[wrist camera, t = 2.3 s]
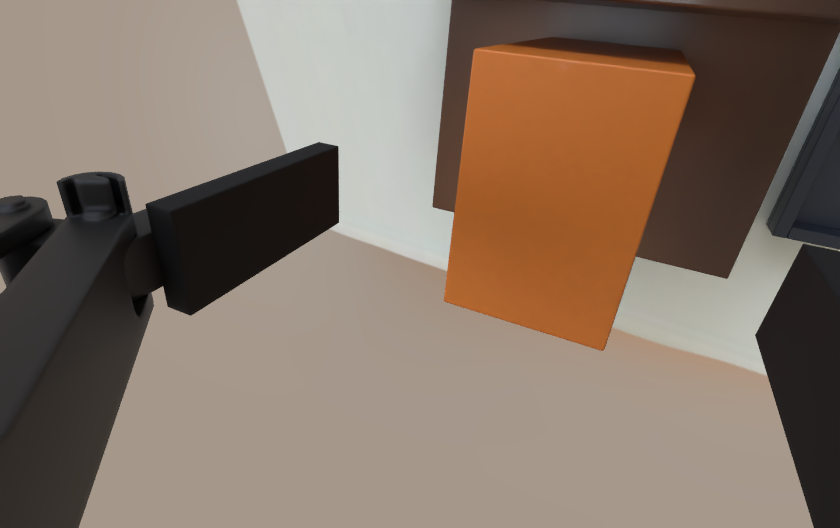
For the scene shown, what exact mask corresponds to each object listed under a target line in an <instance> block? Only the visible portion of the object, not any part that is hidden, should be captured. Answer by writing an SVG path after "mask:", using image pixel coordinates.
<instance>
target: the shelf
mask: <svg viewBox="0 0 840 528" xmlns="http://www.w3.org/2000/svg"><path fill="white" fill-rule="evenodd" d="M839 32H840V0H452V5H451V16H450V26H449V37H448V48H447V58H446V69H445V80H444V90H443V101H442V111H441V122H440V133H439V143H438V154H437V164H436V175H435V186H434V196H433V207H434V208H438V209H442V210H447V211H451V212H455V203H456V195H457V187H458V178H459V170H460V161H461V153H462V145H463V136H464V128H465V120H466V111H467V103H468V94H469V86H470V78H471V69H472V61H473V52H474V49H476V48H481V47H488V46H495V45H501V44H508V43H515V42H521V41H528V40H534V39H541V38H548V37H560V38H569V39H579V40H588V41H598V42H608V43H617V44H627V45H636V46H646V47H656V48H665V49H675V50H681V51H682V53H683V54H684V56H685V58H686V60H687V61H688V63H689V65H690V67H691V68H692V70H693V72H694V74H695V77H696V78H695V81H694V84H693V87H692V90H691V93H690V96H689V99H688V102H687V105H686V108H685V111H684V114H683V116H682V119H681V122H680V125H679V128H678V131H677V134H676V137H675V140H674V143H673V146H672V149H671V152H670V155H669V158H668V161H667V164H666V167H665V170H664V173H663V176H662V179H661V182H660V185H659V188H658V191H657V194H656V197H655V200H654V203H653V206H652V209H651V212H650V215H649V218H648V221H647V224H646V227H645V230H644V233H643V236H642V239H641V242H640V245H639V248H638V251H637V254H636V257H640V258H644V259H648V260H652V261H656V262H660V263H664V264H668V265H673V266H677V267H681V268H685V269H689V270H693V271H697V272H701V273H705V274H710V275H714V276H718V277H722V278H726V279H727V278H728V277H729V274H730V272H731V270H732V268H733V266H734V263H735V261H736V259H737V257H738V255H739V252H740V250H741V248H742V246H743V244H744V241H745V239H746V237H747V235H748V233H749V230H750V228H751V226H752V224H753V222H754V219H755V217H756V215H757V213H758V211H759V208H760V206H761V204H762V202H763V200H764V197H765V195H766V193H767V191H768V189H769V186H770V184H771V182H772V180H773V178H774V175H775V173H776V171H777V169H778V167H779V164H780V162H781V160H782V158H783V156H784V153H785V151H786V149H787V147H788V145H789V142H790V140H791V138H792V136H793V134H794V131H795V129H796V127H797V125H798V123H799V120H800V118H801V116H802V114H803V112H804V109H805V107H806V105H807V103H808V101H809V98H810V96H811V94H812V92H813V89H814V87H815V85H816V83H817V81H818V78H819V76H820V74H821V72H822V70H823V67H824V65H825V63H826V61H827V59H828V56H829V54H830V52H831V50H832V48H833V45H834V43H835V41H836V39H837V37H838V34H839Z"/></svg>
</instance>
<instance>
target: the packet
mask: <svg viewBox="0 0 840 528" xmlns="http://www.w3.org/2000/svg"><path fill="white" fill-rule="evenodd" d="M695 78H696V77H695V74H694V72H693V70H692V68H691V67H690V65H689V63H688V61H687V60H686V58H685V56H684V54H683V53H682V51H681V50H675V49H665V48H656V47H646V46H636V45H627V44H617V43H608V42H598V41H588V40H579V39H569V38H560V37H548V38H541V39H534V40H528V41H521V42H515V43H508V44H501V45H495V46H488V47H481V48H476V49H474V52H473V61H472V69H471V78H470V86H469V94H468V103H467V111H466V120H465V128H464V136H463V145H462V153H461V161H460V170H459V178H458V187H457V195H456V203H455V212H454V220H453V229H452V237H451V245H450V254H449V262H448V271H447V280H446V288H445V296H444V301H445V302H447V303H451V304H454V305H457V306H460V307H463V308H467V309H470V310H473V311H476V312H479V313H483V314H486V315H489V316H492V317H496V318H499V319H502V320H505V321H508V322H511V323H515V324H518V325H521V326H524V327H527V328H531V329H534V330H537V331H540V332H544V333H547V334H550V335H553V336H556V337H559V338H563V339H566V340H569V341H573V342H576V343H579V344H582V345H585V346H588V347H591V348H595V349H598V350H602V351H603V350H604V349H605V346H606V343H607V340H608V337H609V334H610V331H611V328H612V325H613V322H614V319H615V316H616V313H617V310H618V307H619V304H620V301H621V298H622V295H623V292H624V289H625V286H626V283H627V280H628V277H629V274H630V271H631V268H632V265H633V262H634V259H635V256H636V254H637V251H638V248H639V245H640V242H641V239H642V236H643V233H644V230H645V227H646V224H647V221H648V218H649V215H650V212H651V209H652V206H653V203H654V200H655V197H656V194H657V191H658V188H659V185H660V182H661V179H662V176H663V173H664V170H665V167H666V164H667V161H668V158H669V155H670V152H671V149H672V146H673V143H674V140H675V137H676V134H677V131H678V128H679V125H680V122H681V119H682V116H683V114H684V111H685V108H686V105H687V102H688V99H689V96H690V93H691V90H692V87H693V84H694V81H695Z"/></svg>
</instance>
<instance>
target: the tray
mask: <svg viewBox="0 0 840 528" xmlns="http://www.w3.org/2000/svg"><path fill="white" fill-rule="evenodd" d="M767 226H768V228H769V230H770V232H771V234H772V235H773V236H778V237H783V238H788V239H793V240H797V241H802V242H807V243H812V244H816V245H821V246H826V247H831V248H835V249H840V69H839V71H838V73H837V75H836V77H835V79H834V81H833V83H832V86H831V88H830V90H829V92H828V94H827V96H826V98H825V100H824V103H823V105H822V107H821V109H820V111H819V113H818V115H817V117H816V120H815V122H814V124H813V126H812V128H811V130H810V132H809V134H808V137H807V139H806V141H805V143H804V145H803V147H802V149H801V151H800V154H799V156H798V158H797V160H796V162H795V164H794V166H793V169H792V171H791V173H790V175H789V177H788V179H787V181H786V183H785V186H784V188H783V190H782V192H781V194H780V196H779V198H778V200H777V203H776V205H775V207H774V209H773V211H772V213H771V215H770V217H769V220H768V222H767Z"/></svg>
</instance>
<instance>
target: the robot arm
mask: <svg viewBox="0 0 840 528" xmlns="http://www.w3.org/2000/svg"><path fill="white" fill-rule="evenodd" d="M57 185H58V189H59V192H60V195H61V198H62V201H63V204H64V208H65V211H66V214H67V217H66V218H65V219H64V220H62V219H53V218H52V215H51V212H50V209H49V206H48V203H47V201H46V200H44V199H42V198H37V197H23V196H9V197H4V198H1V199H0V272H1V275H2V277H3V279H4V282H5V284H6V287H7V288H6V289H5V290H4V291H3V292H2V293H1V294H0V528H78V527H79V524H80V521H81V519H82V516H83V513H84V510H85V507H86V504H87V501H88V498H89V495H90V492H91V489H92V486H93V483H94V480H95V477H96V474H97V471H98V469H99V466H100V463H101V460H102V457H103V454H104V451H105V448H106V445H107V442H108V439H109V436H110V433H111V430H112V427H113V424H114V421H115V418H116V415H117V413H118V410H119V407H120V404H121V401H122V398H123V395H124V392H125V389H126V386H127V383H128V380H129V377H130V374H131V371H132V368H133V365H134V363H135V360H136V357H137V353H138V351H139V348H140V345H141V342H142V339H143V336H144V333H145V330H146V327H147V324H148V321H149V318H150V315H151V312H152V310H153V307H154V305H153V298H152V294H151V292H153V291H155V290H156V289H158V288H160V287H162V286H163V287H164V292H165V296H166V301H167V305H168V307H170V308H173V309H175V310H178V311H180V312H183V313H185V314H188V315H192V314H194V313H196V312H197V311H199V310H200V309H202V308H204V307H205V306H207V305H208V304H210V303H211V302H213V301H215V300H216V299H218V298H220V297H221V296H223V295H224V294H226V293H228V292H229V291H231V290H232V289H234V288H235V287H237V286H239V285H240V284H242V283H243V282H245V281H246V280H248V279H250V278H251V277H253V276H255V275H256V274H258V273H259V272H261V271H263V270H264V269H266V268H267V267H269V266H271V265H272V264H274V263H275V262H277V261H279V260H280V259H282V258H283V257H285V256H286V255H288V254H289V253H291V252H293V251H294V250H296V249H297V248H299V247H300V246H302V245H304V244H306V243H307V242H309V241H310V240H312V239H314V238H315V237H317V236H318V235H320V234H321V233H323V232H325V231H326V230H328V229H329V228H331V227H333V226H334V225H336V224H337V223H339V168H338V146H334V145H329V144H325V143H320V142H318V143H316V144H313V145H310V146H307V147H304V148H301V149H299V150H296V151H293V152H290V153H287V154H285V155H282V156H279V157H276V158H273V159H271V160H268V161H265V162H262V163H260V164H257V165H254V166H251V167H248V168H246V169H243V170H240V171H237V172H234V173H231V174H229V175H226V176H223V177H220V178H218V179H214V180H212V181H209V182H206V183H203V184H200V185H198V186H195V187H192V188H189V189H187V190H184V191H181V192H178V193H175V194H172V195H169V196H167V197H164V198H161V199H158V200H156V201H153V202H150V203H147V204H146V209H144V210H142V211H139V212H136V213H133V212H132V208H131V204H130V200H129V195H128V191H127V187H126V182H125V178H124V177H123V176H122V175H120V174H116V173H112V172H90V173H89V172H88V173H81V174H76V175H72V176H69V177H65V178H62V179H61V180H59V181H57ZM755 336H756V339H757V342H758V346H759V349H760V352H761V356H762V359H763V362H764V365H765V369H766V372H767V375H768V378H769V382H770V385H771V388H772V391H773V394H774V398H775V401H776V405H777V408H778V411H779V415H780V418H781V421H782V424H783V427H784V431H785V434H786V437H787V441H788V444H789V447H790V450H791V454H792V457H793V460H794V463H795V467H796V470H797V474H798V477H799V480H800V483H801V487H802V490H803V493H804V496H805V500H806V503H807V506H808V509H809V513H810V516H811V519H812V523H813V526H814V528H840V252H839V251H835V250H830V249H825V248H820V247H815V246H811V245H806V244H803V245H802V247H801V249H800V251H799V253H798V255H797V256H796V258H795V260H794V262H793V264H792V266H791V268H790V270H789V272H788V274H787V276H786V278H785V279H784V281H783V283H782V285H781V287H780V289H779V291H778V293H777V295H776V297H775V299H774V301H773V302H772V304H771V306H770V308H769V310H768V312H767V314H766V316H765V318H764V320H763V322H762V324H761V325H760V327H759V329H758V331H757V333H756V335H755Z"/></svg>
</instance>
